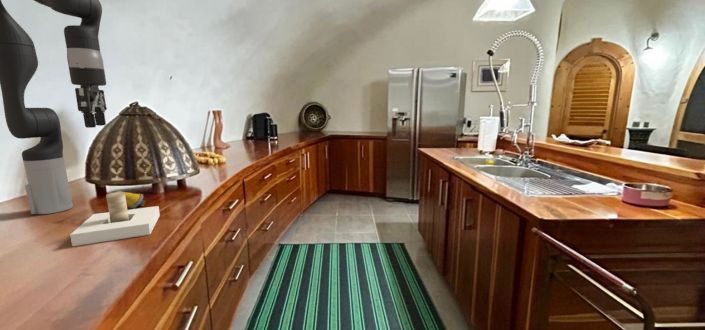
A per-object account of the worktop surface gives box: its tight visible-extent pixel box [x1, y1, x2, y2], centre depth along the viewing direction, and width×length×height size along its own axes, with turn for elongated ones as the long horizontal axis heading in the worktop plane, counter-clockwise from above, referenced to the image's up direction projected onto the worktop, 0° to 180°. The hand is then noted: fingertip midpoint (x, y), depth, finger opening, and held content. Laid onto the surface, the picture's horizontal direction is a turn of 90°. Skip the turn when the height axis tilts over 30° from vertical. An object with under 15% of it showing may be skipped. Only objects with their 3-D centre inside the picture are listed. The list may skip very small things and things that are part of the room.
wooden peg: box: [105, 191, 129, 223], centre depth 84 cm, size 4×4×10 cm
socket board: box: [69, 205, 161, 247], centre depth 84 cm, size 16×16×3 cm
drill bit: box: [116, 190, 146, 210], centre depth 102 cm, size 5×5×10 cm
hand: (96, 126), depth 88 cm, fingers open, 8 cm apart
